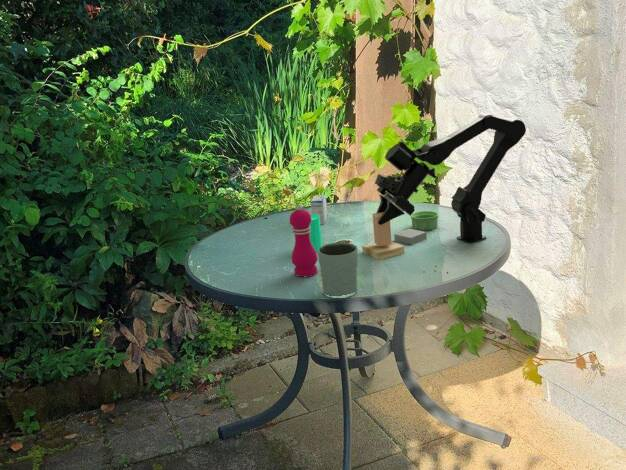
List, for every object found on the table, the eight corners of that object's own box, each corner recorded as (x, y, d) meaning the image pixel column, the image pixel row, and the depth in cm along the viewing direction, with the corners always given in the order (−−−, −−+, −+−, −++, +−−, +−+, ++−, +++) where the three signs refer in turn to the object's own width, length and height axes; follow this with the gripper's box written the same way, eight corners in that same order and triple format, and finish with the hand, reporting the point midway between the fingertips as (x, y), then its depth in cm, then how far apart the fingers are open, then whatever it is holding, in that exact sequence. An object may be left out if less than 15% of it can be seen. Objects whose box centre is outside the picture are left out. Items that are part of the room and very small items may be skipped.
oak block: (404, 254, 199) (404, 246, 198) (378, 261, 195) (378, 253, 194) (387, 247, 207) (387, 239, 206) (362, 253, 203) (362, 245, 202)
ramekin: (426, 221, 227) (426, 209, 226) (444, 227, 220) (444, 214, 219) (405, 227, 223) (404, 214, 222) (423, 233, 216) (422, 219, 214)
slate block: (426, 239, 210) (426, 232, 209) (411, 245, 206) (411, 237, 205) (409, 236, 215) (409, 228, 214) (394, 241, 211) (394, 234, 210)
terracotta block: (387, 240, 202) (385, 211, 200) (391, 244, 198) (389, 215, 196) (374, 242, 201) (372, 213, 199) (378, 246, 198) (376, 216, 195)
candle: (323, 245, 212) (320, 209, 209) (321, 252, 206) (318, 214, 203) (304, 247, 213) (301, 210, 209) (302, 253, 207) (298, 215, 204)
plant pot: (330, 284, 180) (326, 241, 176) (366, 286, 176) (362, 242, 172) (315, 299, 171) (311, 254, 168) (353, 301, 167) (349, 255, 164)
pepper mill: (299, 280, 185) (291, 209, 179) (289, 272, 192) (282, 204, 186) (323, 274, 188) (316, 204, 182) (312, 267, 194) (306, 199, 188)
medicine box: (315, 218, 244) (313, 195, 241) (327, 218, 243) (325, 194, 240) (312, 225, 236) (310, 201, 234) (325, 224, 235) (323, 200, 233)
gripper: (381, 158, 203) (348, 199, 204) (401, 169, 185) (365, 213, 186) (407, 180, 206) (375, 220, 208) (429, 193, 189) (394, 236, 190)
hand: (377, 222), depth 198 cm, fingers closed on terracotta block, 4 cm apart
